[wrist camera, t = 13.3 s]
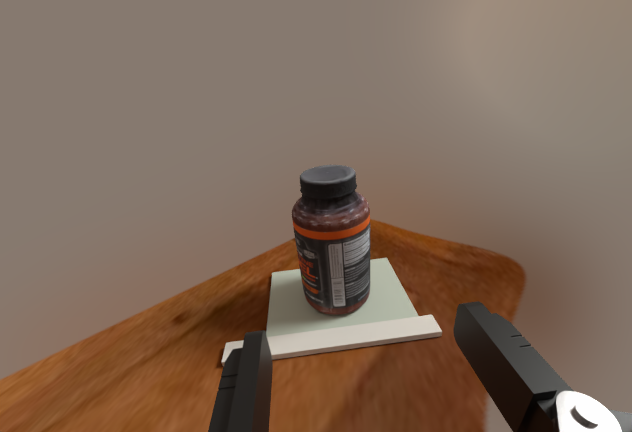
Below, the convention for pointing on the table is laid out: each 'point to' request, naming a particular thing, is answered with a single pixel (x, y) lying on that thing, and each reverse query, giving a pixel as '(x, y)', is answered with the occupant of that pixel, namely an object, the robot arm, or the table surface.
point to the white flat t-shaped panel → (340, 318)
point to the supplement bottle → (333, 239)
